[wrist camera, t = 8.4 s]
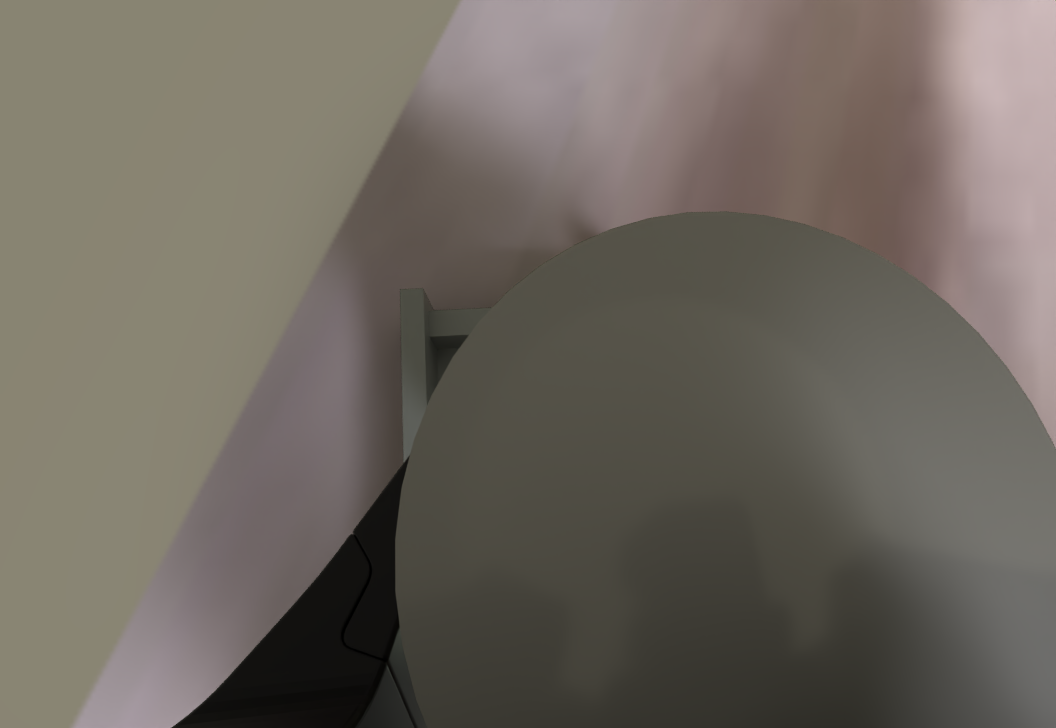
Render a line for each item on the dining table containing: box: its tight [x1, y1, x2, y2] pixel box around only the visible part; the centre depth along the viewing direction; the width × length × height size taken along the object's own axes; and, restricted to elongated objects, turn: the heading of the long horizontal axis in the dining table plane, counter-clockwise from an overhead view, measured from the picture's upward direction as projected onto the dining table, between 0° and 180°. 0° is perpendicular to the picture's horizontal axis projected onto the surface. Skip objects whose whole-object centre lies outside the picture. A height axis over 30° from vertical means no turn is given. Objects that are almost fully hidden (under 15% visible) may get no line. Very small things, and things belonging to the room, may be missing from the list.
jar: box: [395, 212, 1056, 728], centre depth 10 cm, size 6×6×13 cm
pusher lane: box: [400, 288, 492, 463], centre depth 15 cm, size 20×11×5 cm, turn 4°
